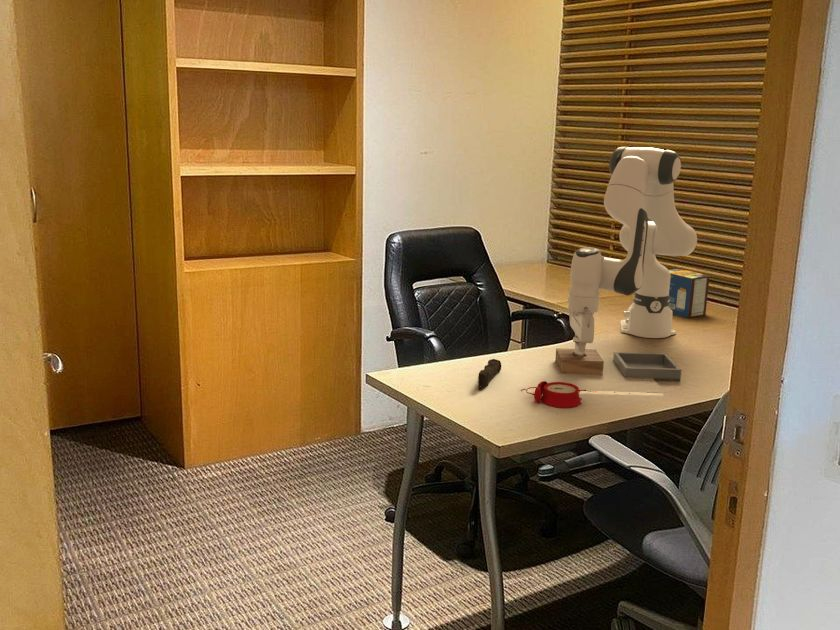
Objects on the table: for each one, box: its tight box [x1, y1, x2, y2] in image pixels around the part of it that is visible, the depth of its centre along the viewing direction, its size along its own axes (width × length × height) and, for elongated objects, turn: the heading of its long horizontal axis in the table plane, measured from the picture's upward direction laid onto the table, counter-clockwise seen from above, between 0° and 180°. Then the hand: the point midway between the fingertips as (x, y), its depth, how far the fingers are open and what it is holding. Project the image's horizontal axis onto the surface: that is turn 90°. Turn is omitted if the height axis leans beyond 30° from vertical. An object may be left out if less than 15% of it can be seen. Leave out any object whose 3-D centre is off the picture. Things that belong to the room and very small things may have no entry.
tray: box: [612, 351, 683, 382], centre depth 244 cm, size 16×16×4 cm
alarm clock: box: [525, 380, 587, 409], centre depth 218 cm, size 10×6×15 cm
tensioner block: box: [555, 347, 605, 375], centre depth 244 cm, size 12×12×5 cm
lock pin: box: [572, 335, 585, 357], centre depth 244 cm, size 4×4×9 cm
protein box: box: [668, 268, 711, 319], centre depth 317 cm, size 10×15×16 cm
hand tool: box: [477, 358, 502, 391], centre depth 233 cm, size 19×4×5 cm, turn 160°
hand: (579, 349), depth 243 cm, fingers closed on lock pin, 3 cm apart
